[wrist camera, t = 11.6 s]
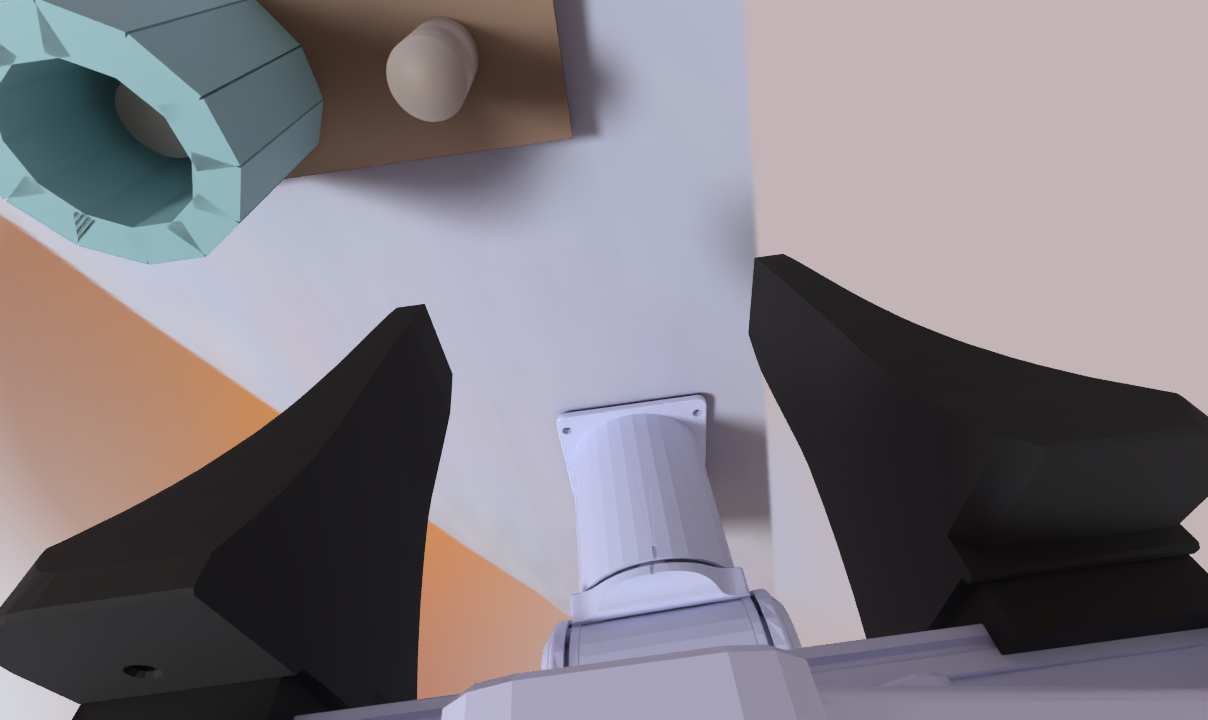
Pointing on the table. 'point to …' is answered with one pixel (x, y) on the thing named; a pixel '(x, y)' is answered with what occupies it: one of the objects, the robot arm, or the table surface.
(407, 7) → the pin board
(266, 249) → the table surface
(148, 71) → the sleeve
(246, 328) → the table surface
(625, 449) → the robot arm
